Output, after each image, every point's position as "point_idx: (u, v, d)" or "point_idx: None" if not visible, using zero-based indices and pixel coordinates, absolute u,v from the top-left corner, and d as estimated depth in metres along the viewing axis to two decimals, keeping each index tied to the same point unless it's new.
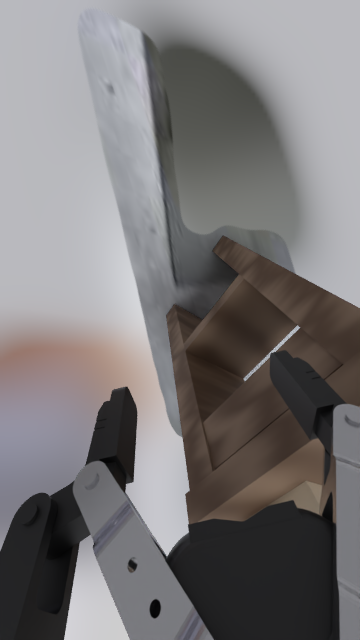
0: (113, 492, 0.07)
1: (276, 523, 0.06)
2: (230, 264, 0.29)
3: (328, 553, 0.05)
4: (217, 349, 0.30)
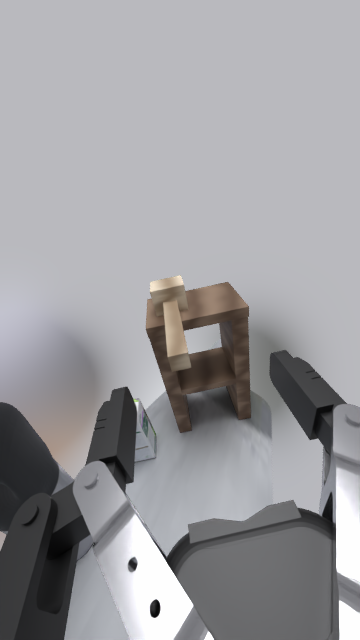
0: (113, 492, 0.07)
1: (276, 523, 0.06)
2: None
3: (328, 553, 0.05)
4: None
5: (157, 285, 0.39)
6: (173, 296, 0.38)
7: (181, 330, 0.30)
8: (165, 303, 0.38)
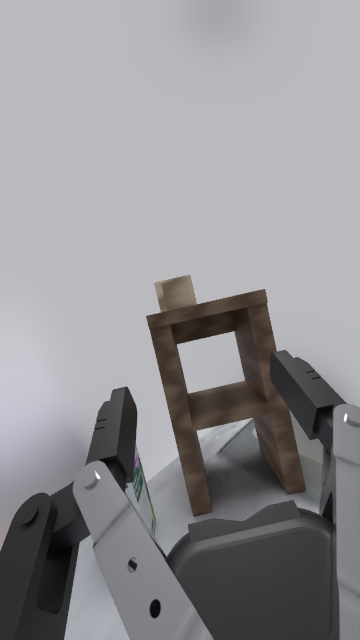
0: (113, 492, 0.07)
1: (276, 523, 0.06)
2: None
3: (328, 553, 0.05)
4: (201, 398, 0.40)
5: None
6: None
7: None
8: None
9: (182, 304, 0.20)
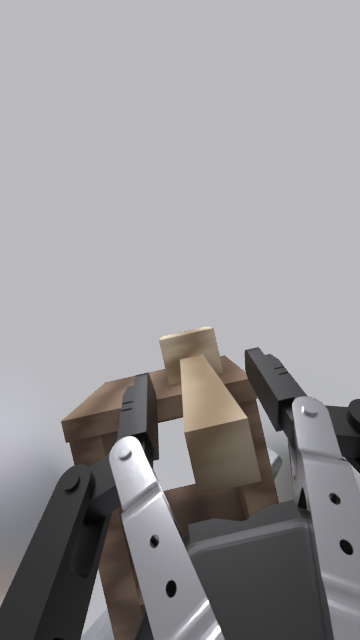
0: (148, 462, 0.08)
1: (276, 523, 0.06)
2: None
3: (309, 553, 0.05)
4: None
5: (172, 335, 0.26)
6: (196, 348, 0.23)
7: (217, 381, 0.13)
8: (183, 359, 0.23)
9: (236, 483, 0.08)
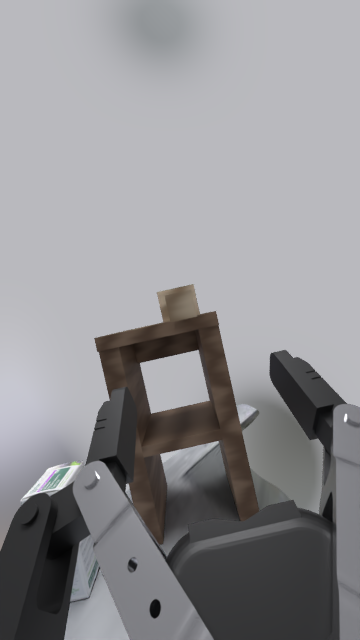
0: (113, 492, 0.07)
1: (276, 524, 0.06)
2: None
3: (328, 553, 0.05)
4: (161, 420, 0.39)
5: None
6: None
7: None
8: None
9: (186, 317, 0.20)
